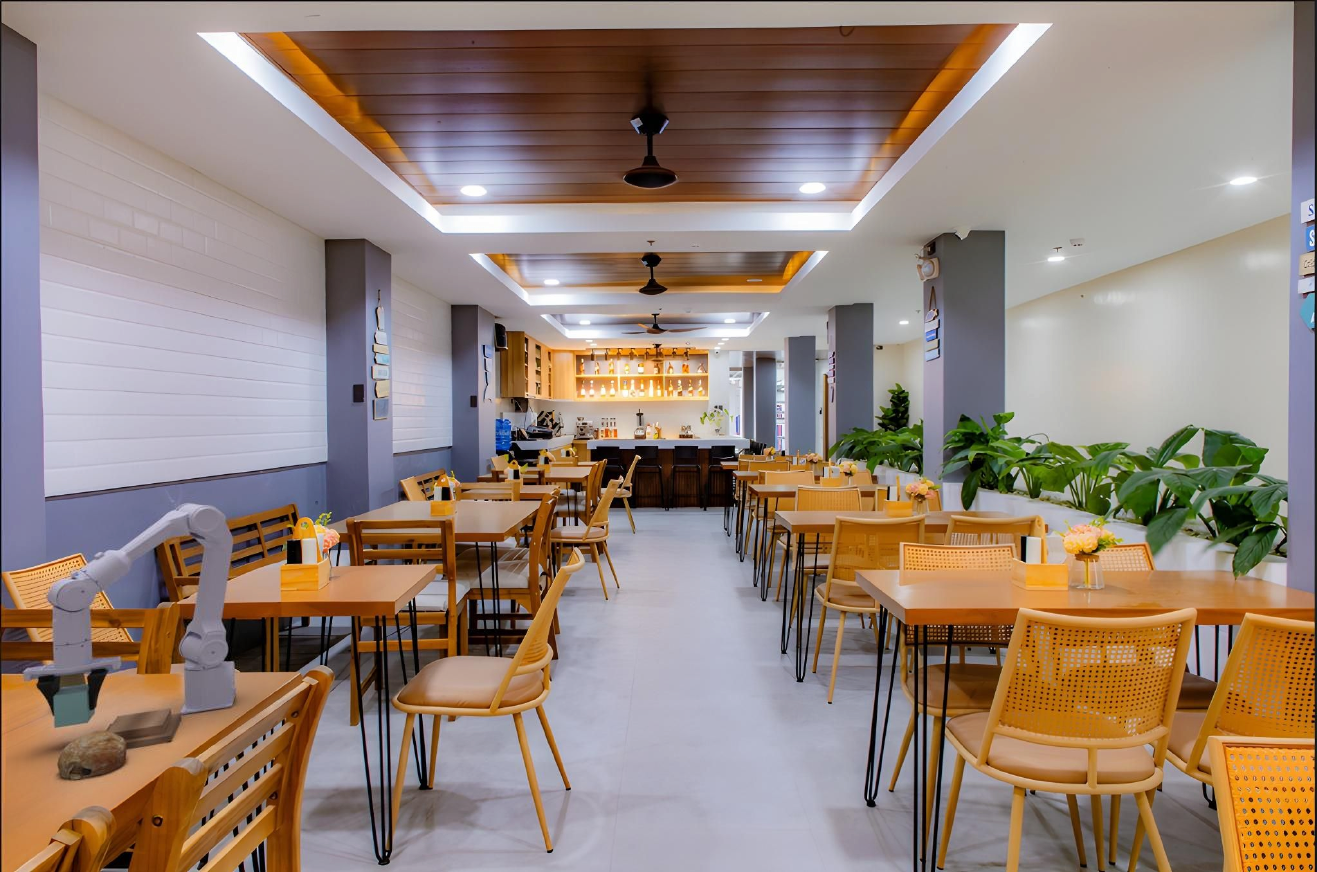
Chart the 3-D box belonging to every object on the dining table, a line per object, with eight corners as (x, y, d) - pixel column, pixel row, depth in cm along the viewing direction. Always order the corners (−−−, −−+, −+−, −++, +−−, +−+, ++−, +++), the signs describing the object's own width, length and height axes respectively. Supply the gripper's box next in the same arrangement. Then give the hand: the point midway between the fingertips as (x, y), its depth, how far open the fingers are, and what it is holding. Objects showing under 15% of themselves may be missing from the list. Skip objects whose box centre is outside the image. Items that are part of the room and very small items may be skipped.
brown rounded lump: (53, 801, 125) (44, 768, 122) (71, 753, 133) (63, 721, 130) (122, 789, 129) (116, 757, 126) (135, 743, 137) (130, 712, 134)
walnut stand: (181, 718, 150) (180, 704, 150) (170, 741, 140) (170, 726, 139) (110, 729, 145) (110, 714, 145) (94, 754, 134) (93, 738, 134)
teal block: (94, 713, 142) (93, 683, 142) (87, 722, 138) (86, 691, 137) (62, 717, 140) (61, 687, 140) (54, 727, 135) (53, 696, 135)
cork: (69, 713, 153) (68, 662, 153) (46, 711, 155) (45, 660, 154) (97, 702, 159) (95, 653, 159) (74, 700, 160) (73, 651, 160)
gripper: (123, 630, 145) (125, 697, 145) (31, 640, 139) (34, 710, 139) (115, 639, 139) (117, 709, 139) (18, 651, 132) (20, 724, 133)
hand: (74, 711), depth 139 cm, fingers closed on teal block, 5 cm apart
